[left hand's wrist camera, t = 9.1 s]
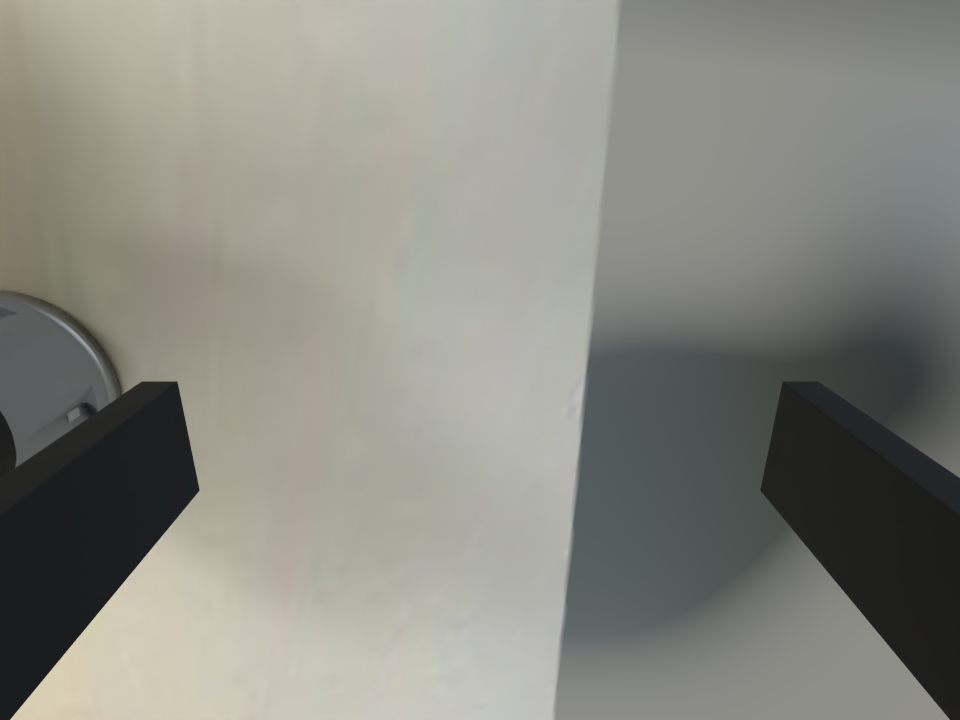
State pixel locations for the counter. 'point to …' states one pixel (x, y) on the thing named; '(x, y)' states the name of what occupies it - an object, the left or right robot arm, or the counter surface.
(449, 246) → the counter surface
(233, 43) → the counter surface
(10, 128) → the counter surface
